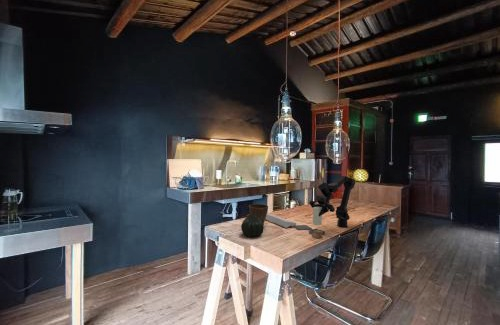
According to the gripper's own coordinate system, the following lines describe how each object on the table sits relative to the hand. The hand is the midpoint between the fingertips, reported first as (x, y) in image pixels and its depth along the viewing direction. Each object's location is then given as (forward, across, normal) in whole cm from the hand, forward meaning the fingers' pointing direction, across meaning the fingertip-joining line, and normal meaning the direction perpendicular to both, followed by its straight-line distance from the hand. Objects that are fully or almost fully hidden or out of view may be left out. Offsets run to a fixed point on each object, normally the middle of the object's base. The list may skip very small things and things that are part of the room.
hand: (316, 215), depth 176 cm
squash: (+38, -23, -19) cm, 48 cm away
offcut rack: (+8, 0, +10) cm, 13 cm away
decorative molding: (+10, -37, +9) cm, 39 cm away
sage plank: (+4, 0, +6) cm, 7 cm away
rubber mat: (+7, -15, +12) cm, 20 cm away
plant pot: (+25, -37, -6) cm, 45 cm away
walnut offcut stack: (+14, +5, +6) cm, 16 cm away
